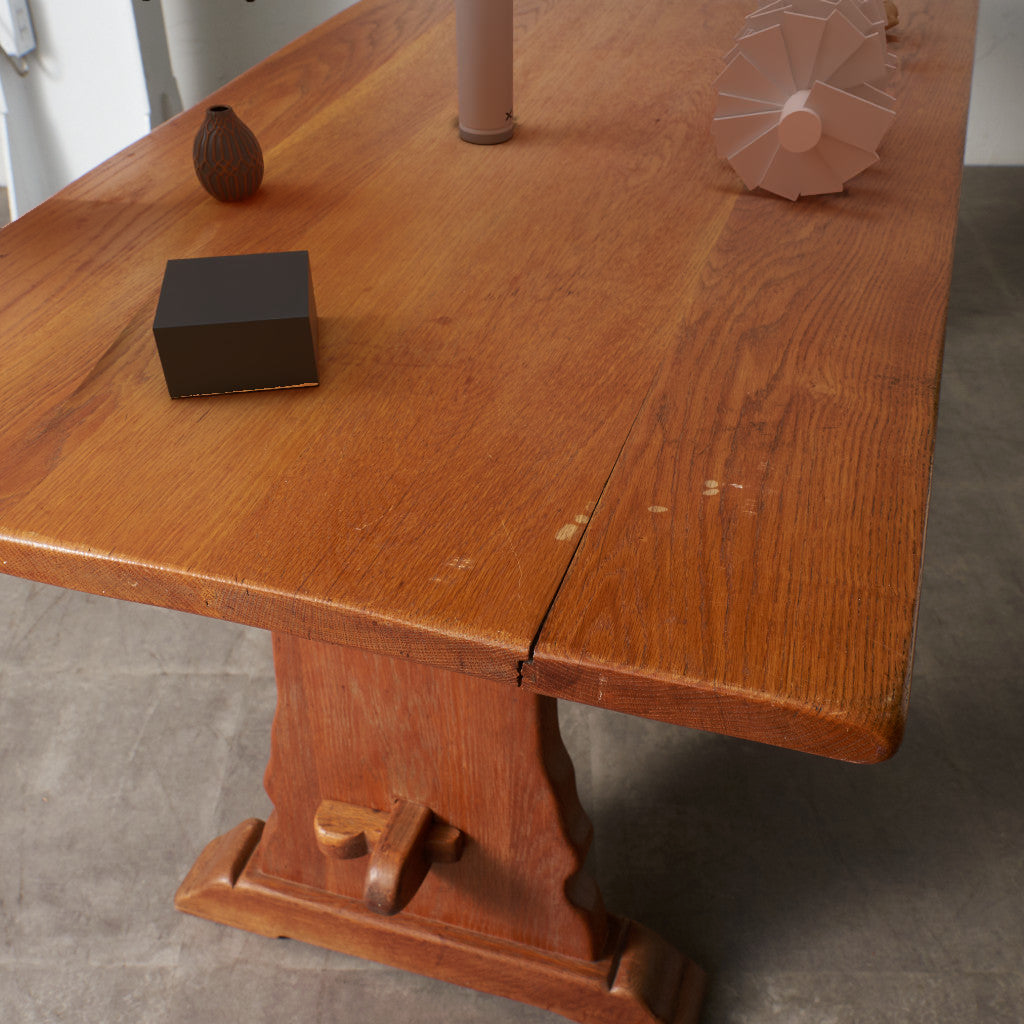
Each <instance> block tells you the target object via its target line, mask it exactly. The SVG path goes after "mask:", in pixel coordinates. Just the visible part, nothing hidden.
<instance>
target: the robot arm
mask: <svg viewBox="0 0 1024 1024" xmlns="http://www.w3.org/2000/svg"><path fill="white" fill-rule="evenodd" d="M141 1H142V2H150V1H151V0H141ZM244 1H246V3H254V2H255V1H256V0H244Z"/></svg>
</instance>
